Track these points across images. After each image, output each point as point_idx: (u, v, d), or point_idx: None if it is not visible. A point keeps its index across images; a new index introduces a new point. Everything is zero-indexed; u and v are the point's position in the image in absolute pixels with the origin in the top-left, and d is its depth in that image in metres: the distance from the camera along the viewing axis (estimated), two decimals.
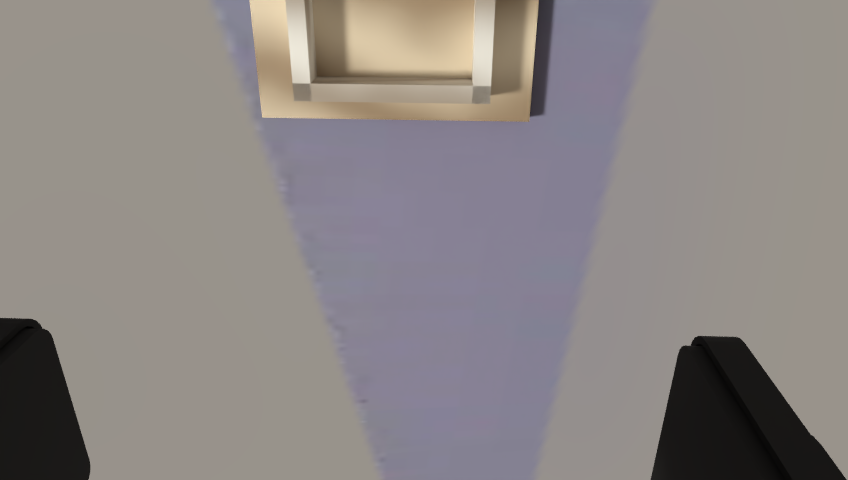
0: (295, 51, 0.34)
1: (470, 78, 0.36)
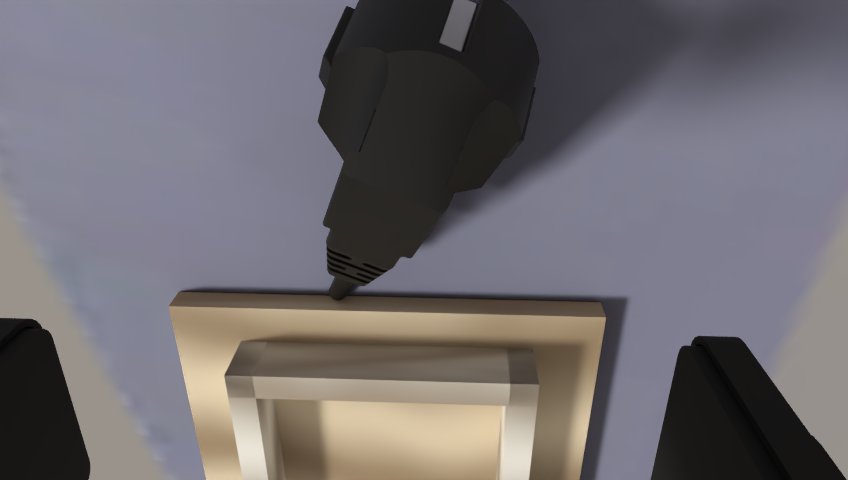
0: None
1: None
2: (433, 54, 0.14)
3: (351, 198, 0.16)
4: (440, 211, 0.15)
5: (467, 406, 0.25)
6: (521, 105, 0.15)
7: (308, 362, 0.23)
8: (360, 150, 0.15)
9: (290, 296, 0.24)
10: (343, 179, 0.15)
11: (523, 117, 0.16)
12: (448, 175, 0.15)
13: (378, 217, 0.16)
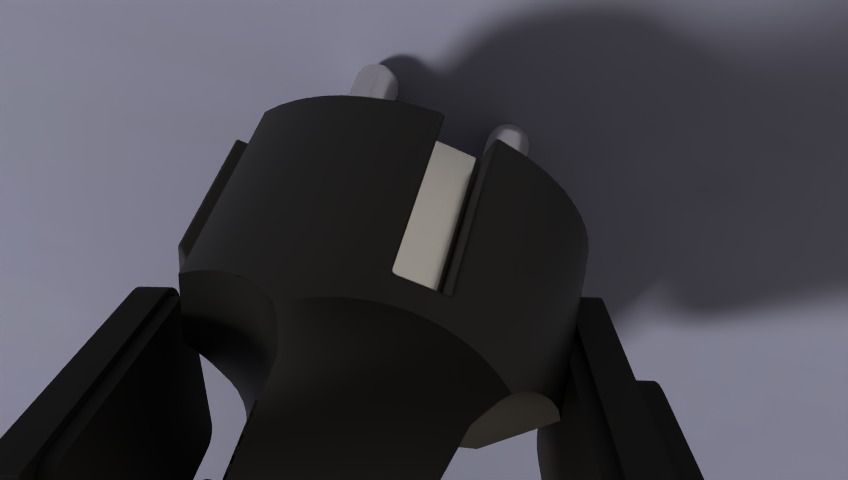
0: None
1: None
2: (378, 306, 0.06)
3: None
4: None
5: None
6: (561, 368, 0.08)
7: None
8: (226, 476, 0.07)
9: None
10: None
11: (564, 386, 0.08)
12: None
13: None
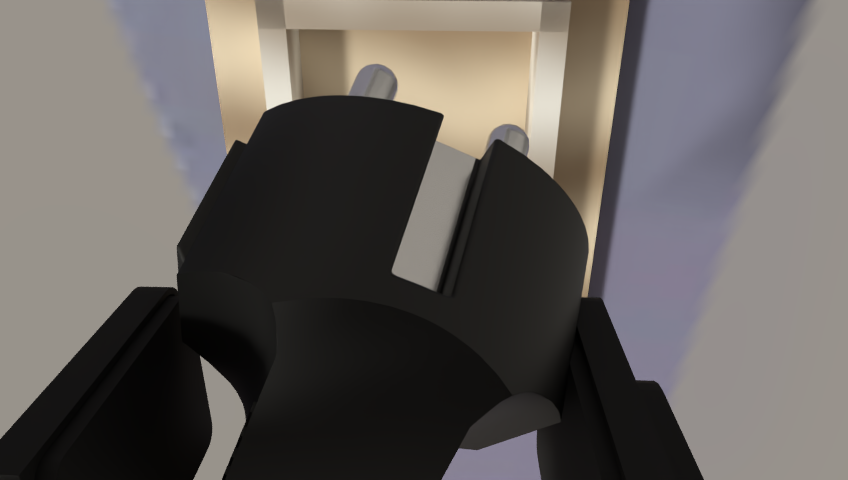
0: None
1: None
2: (378, 307, 0.06)
3: None
4: None
5: (495, 73, 0.25)
6: (562, 369, 0.08)
7: None
8: (225, 478, 0.07)
9: None
10: None
11: (564, 387, 0.08)
12: None
13: None
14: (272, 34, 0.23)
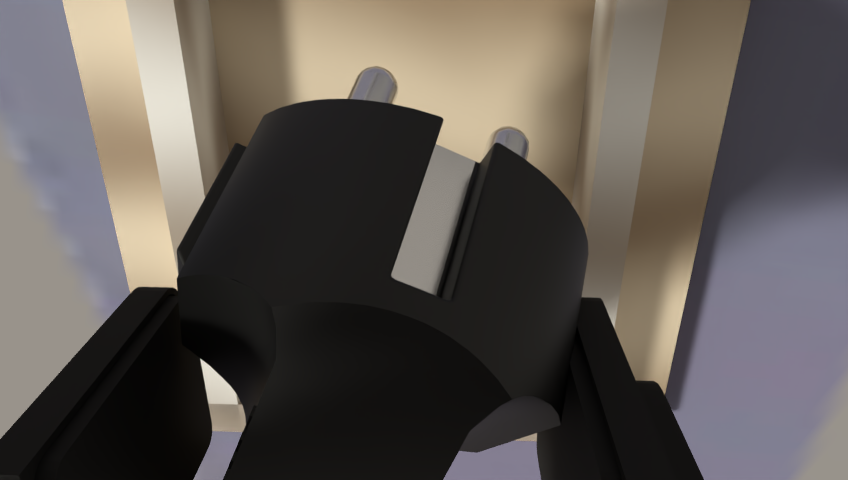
0: None
1: None
2: (378, 311, 0.06)
3: None
4: None
5: (532, 59, 0.15)
6: (561, 372, 0.08)
7: None
8: None
9: None
10: None
11: (564, 390, 0.08)
12: None
13: None
14: None
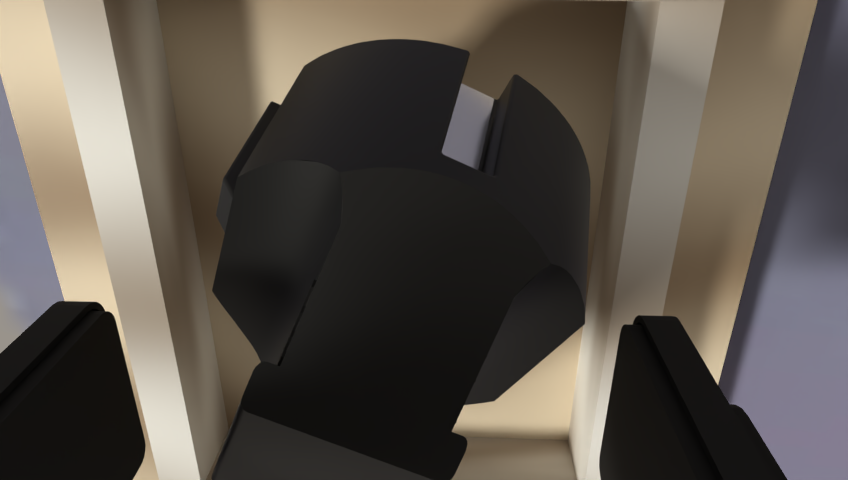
0: (161, 432, 0.14)
1: (565, 442, 0.16)
2: (433, 177, 0.07)
3: (262, 448, 0.08)
4: None
5: (547, 91, 0.13)
6: (583, 271, 0.08)
7: None
8: (281, 361, 0.07)
9: None
10: (244, 418, 0.07)
11: None
12: (458, 409, 0.08)
13: (314, 479, 0.08)
14: (75, 8, 0.10)
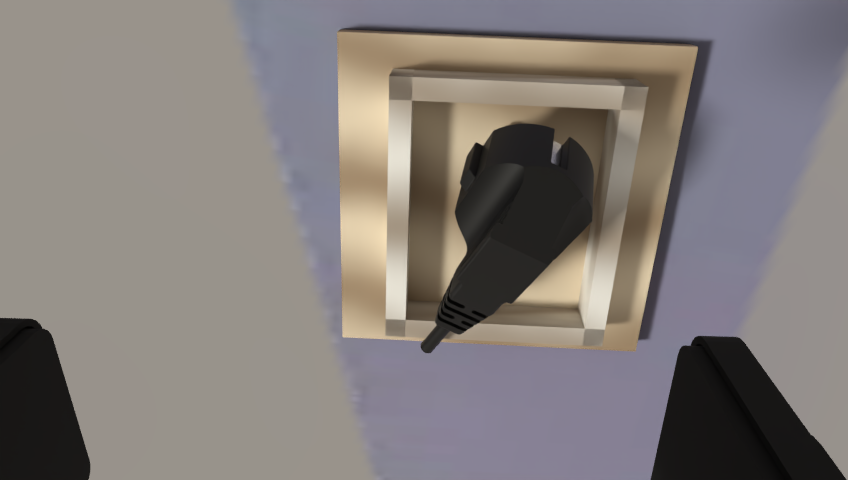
0: (392, 289, 0.31)
1: (576, 309, 0.33)
2: (550, 169, 0.24)
3: (488, 255, 0.25)
4: (547, 263, 0.25)
5: (575, 139, 0.30)
6: (592, 203, 0.25)
7: (454, 75, 0.28)
8: (501, 223, 0.24)
9: (434, 33, 0.29)
10: (489, 241, 0.24)
11: (592, 210, 0.26)
12: (553, 241, 0.24)
13: (501, 270, 0.25)
14: (400, 104, 0.27)
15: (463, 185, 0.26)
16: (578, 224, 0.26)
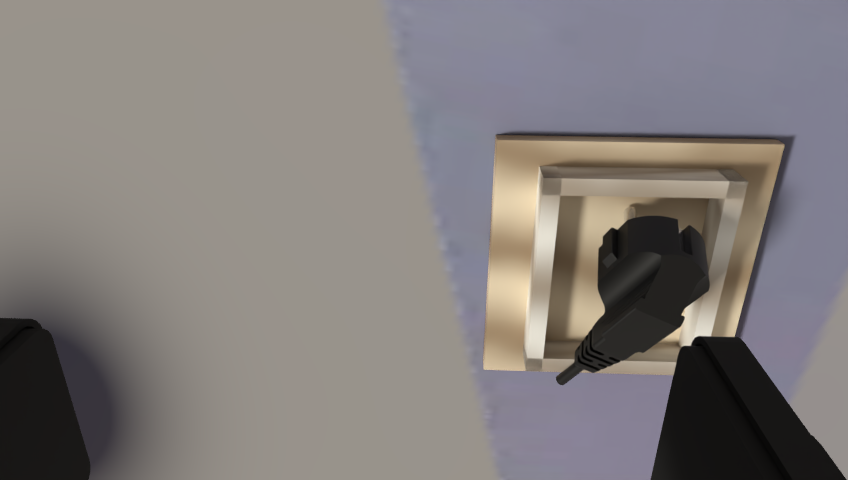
0: (534, 335, 0.39)
1: (677, 344, 0.41)
2: (681, 256, 0.32)
3: (631, 320, 0.33)
4: (678, 326, 0.32)
5: (682, 215, 0.37)
6: None
7: (592, 173, 0.35)
8: (644, 298, 0.32)
9: (571, 136, 0.36)
10: (634, 311, 0.32)
11: None
12: (683, 309, 0.32)
13: (640, 330, 0.33)
14: (550, 198, 0.35)
15: (605, 263, 0.34)
16: (697, 292, 0.33)
